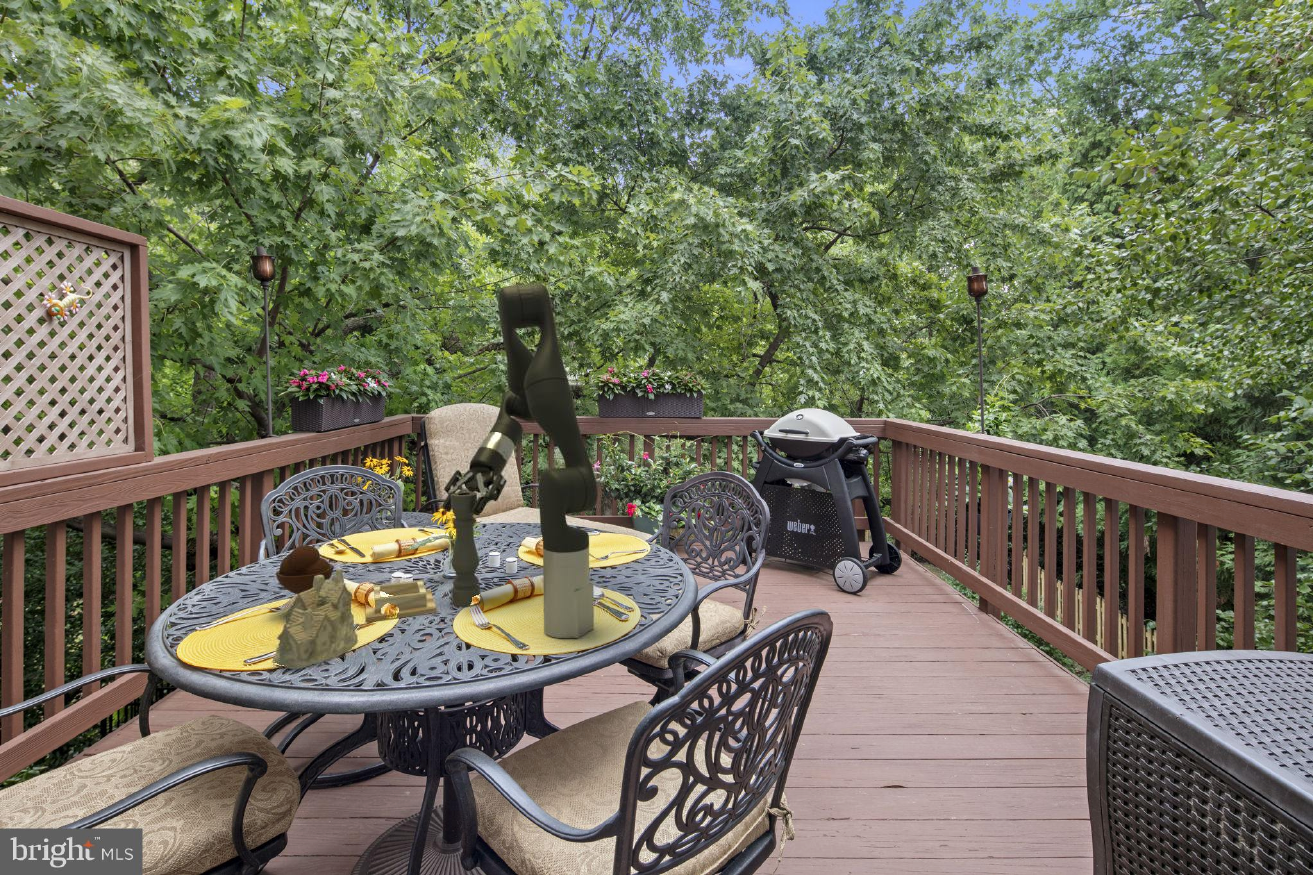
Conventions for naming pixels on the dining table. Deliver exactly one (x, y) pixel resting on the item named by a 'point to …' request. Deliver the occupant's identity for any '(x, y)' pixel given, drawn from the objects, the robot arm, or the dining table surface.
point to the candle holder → (464, 549)
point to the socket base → (402, 600)
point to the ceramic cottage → (317, 624)
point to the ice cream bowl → (302, 569)
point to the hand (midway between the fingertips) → (460, 511)
